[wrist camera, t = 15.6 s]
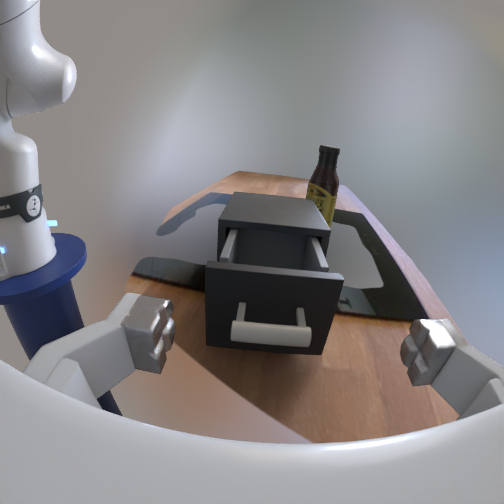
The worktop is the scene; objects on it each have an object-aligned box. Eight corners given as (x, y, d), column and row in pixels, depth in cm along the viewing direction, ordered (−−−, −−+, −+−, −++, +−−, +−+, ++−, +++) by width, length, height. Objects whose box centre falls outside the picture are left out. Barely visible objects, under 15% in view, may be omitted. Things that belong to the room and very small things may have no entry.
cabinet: (314, 308, 35) (331, 230, 30) (216, 299, 35) (218, 219, 31) (303, 259, 48) (312, 199, 44) (230, 251, 49) (234, 191, 44)
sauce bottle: (293, 235, 59) (305, 142, 51) (314, 231, 62) (327, 145, 54) (313, 246, 54) (329, 146, 46) (334, 242, 57) (350, 149, 49)
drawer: (327, 387, 22) (357, 310, 18) (197, 377, 22) (191, 295, 18) (307, 286, 38) (319, 226, 34) (225, 278, 38) (228, 217, 35)
